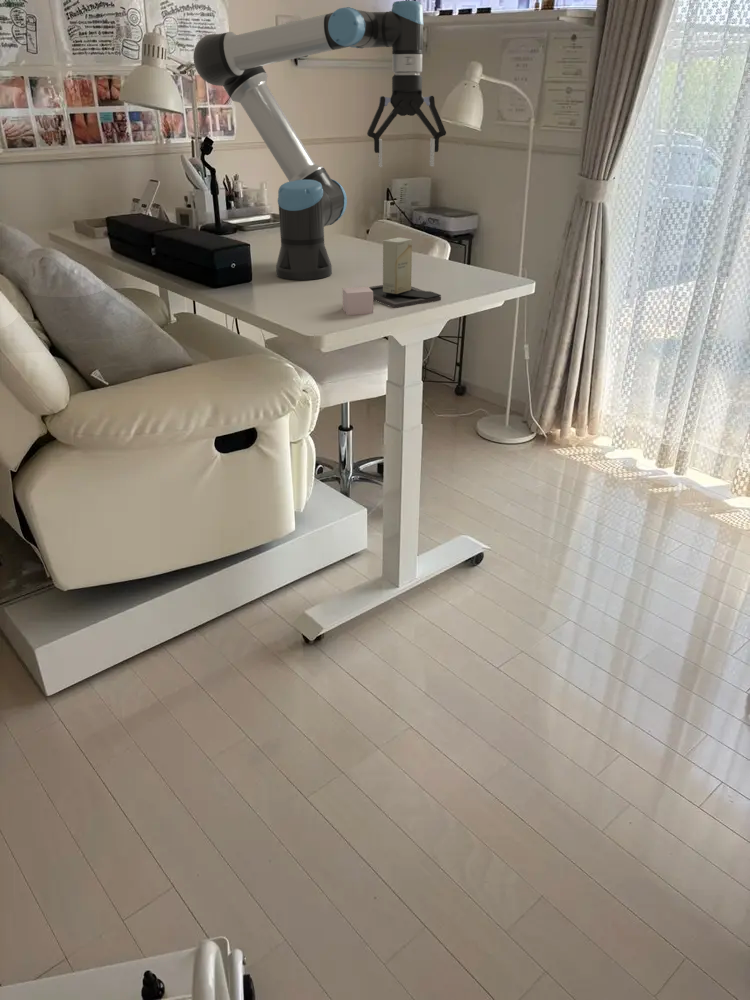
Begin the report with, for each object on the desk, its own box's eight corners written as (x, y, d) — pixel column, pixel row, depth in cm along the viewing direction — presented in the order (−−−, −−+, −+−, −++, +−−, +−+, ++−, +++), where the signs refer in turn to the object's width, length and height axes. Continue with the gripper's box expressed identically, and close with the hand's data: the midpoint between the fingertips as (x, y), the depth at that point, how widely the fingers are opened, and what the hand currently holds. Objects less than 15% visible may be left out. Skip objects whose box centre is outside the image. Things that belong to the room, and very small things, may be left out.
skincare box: (396, 294, 189) (396, 242, 184) (381, 292, 192) (382, 240, 186) (412, 289, 194) (413, 238, 188) (397, 287, 196) (398, 236, 190)
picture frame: (440, 303, 190) (399, 288, 204) (441, 294, 189) (399, 280, 203) (394, 311, 184) (355, 295, 197) (394, 302, 183) (355, 287, 197)
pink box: (347, 315, 179) (347, 293, 176) (342, 309, 183) (342, 288, 180) (373, 313, 180) (373, 291, 178) (367, 308, 184) (367, 286, 182)
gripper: (358, 74, 192) (359, 168, 202) (459, 73, 194) (455, 166, 204) (356, 74, 199) (357, 165, 209) (454, 73, 201) (450, 164, 211)
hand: (406, 166), depth 207 cm, fingers open, 13 cm apart
